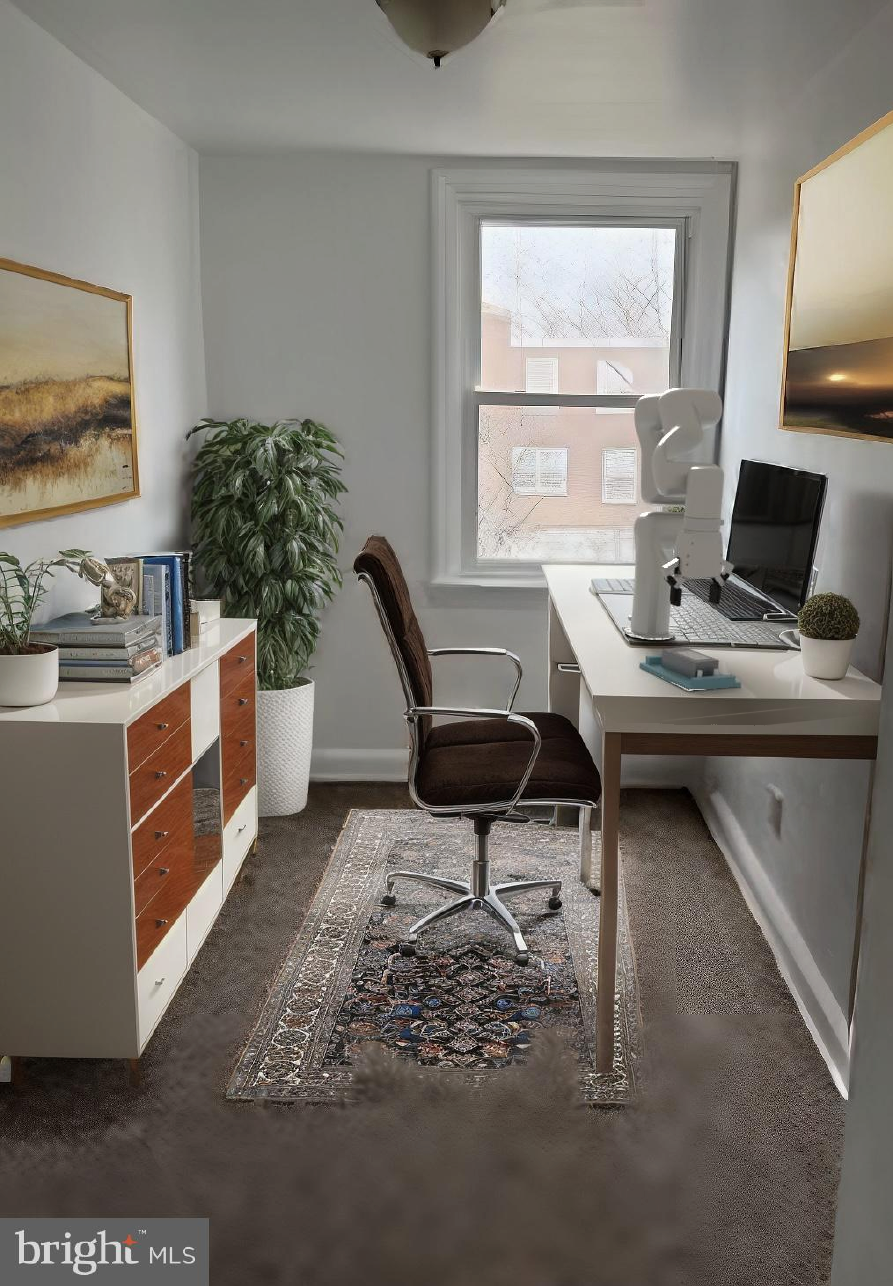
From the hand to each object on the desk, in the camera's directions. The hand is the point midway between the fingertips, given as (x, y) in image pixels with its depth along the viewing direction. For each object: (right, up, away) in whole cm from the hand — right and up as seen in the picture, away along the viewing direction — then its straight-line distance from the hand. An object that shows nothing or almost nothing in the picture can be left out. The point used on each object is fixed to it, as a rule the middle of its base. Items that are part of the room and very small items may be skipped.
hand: (694, 604), depth 224 cm
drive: (0, -15, +4) cm, 15 cm away
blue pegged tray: (0, -16, +4) cm, 16 cm away
